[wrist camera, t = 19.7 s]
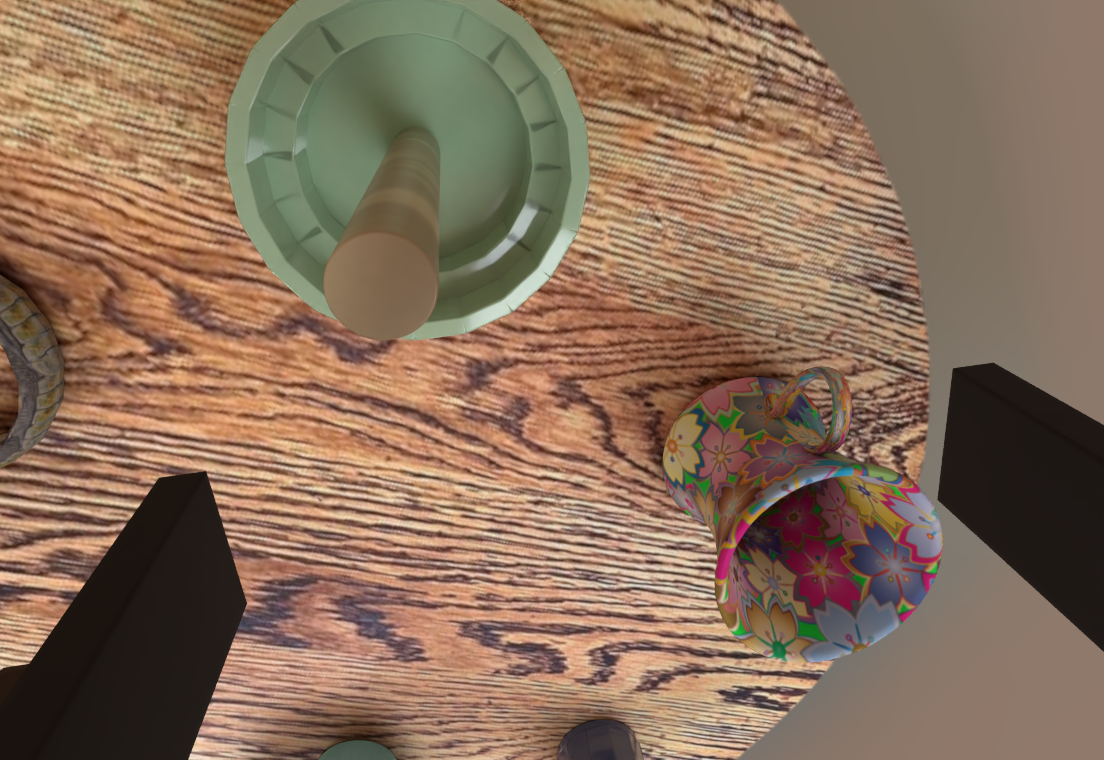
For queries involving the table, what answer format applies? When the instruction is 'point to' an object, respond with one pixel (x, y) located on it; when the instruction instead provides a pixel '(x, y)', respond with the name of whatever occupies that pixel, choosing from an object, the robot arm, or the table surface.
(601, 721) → the holder
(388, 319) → the stick
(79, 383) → the table surface
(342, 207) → the bowl
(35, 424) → the decorative ring
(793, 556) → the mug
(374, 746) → the cupcake
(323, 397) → the table surface
